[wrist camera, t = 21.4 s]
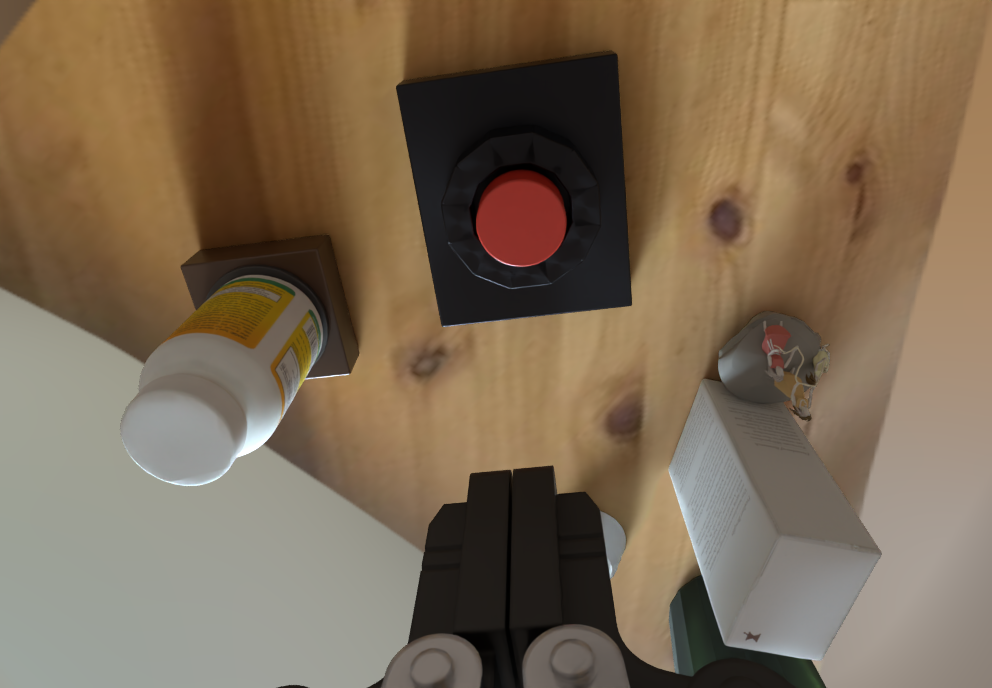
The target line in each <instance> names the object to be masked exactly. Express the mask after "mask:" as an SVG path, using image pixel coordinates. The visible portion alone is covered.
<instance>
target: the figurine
mask: <svg viewBox="0 0 992 688" xmlns="http://www.w3.org/2000/svg"><path fill="white" fill-rule="evenodd" d="M820 343H821V337H820V335H819V334H818V333H814V332H813V331H812V330H811V329H810V328H809V327H808V326H807V324H806V323H805V322H803V321H802V320H800V319H798V318H796V317H791V316H787V315H784V314H780V313H776V312H771V311H764V312H762V313H759V314H758V315H756V316H754V317H753V318H752V319H751V320H750V322H749V323H748V324H747V325H746V326H745V327H744V328H742V329H741V331H740V332H739V333H738V334H737V335H736V336H734V337H733V338H732V339H730V340H729V341H728V342H727V343H726V344H725V346H724V347H723V348H722V349H721V350H720V351H719V360H718V371H719V375H720V378H721V380H722V382H723V384H724V385H725V386H726V388H727V389H728V390H729V391H730V392H731V393H733V394H734V395H736V396H737V397H739V398H741V399H744V400H747V401H750V402H754V403H763V404H771V403H780V402H785V401H788V400H792V404H793V407H794V406H795V407H794V409H795V410H796V411H795V410H792V409H790V408H789V409H790V410H791V411H793V412H794V414H796V415H797V416H799V418H801V419H802V420H808V421H810V419H812V417H811V413H810V412H809V408H810V407H811V400H812V393H813V390H814V389H815V387H816V386H817V383H818V382H819V380H820V377H821V376H822V373H823V372H824V373H827V372H828V367H829V362H830V353H829V351H828V350H826V349H825V347H827V346H829V345H830V344H826V345H823V346H822V349H821V347H820ZM826 366H827V368H825V367H826ZM810 387H811V388H810ZM809 388H810V393H809V398H808V400H807V399H806V398H804V397H805V394H804V392H805V391H806V390H807V389H809ZM793 412H792V413H793Z"/></svg>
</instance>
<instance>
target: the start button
mask: <svg viewBox="0 0 992 688" xmlns="http://www.w3.org/2000/svg"><path fill="white" fill-rule="evenodd" d="M566 226H567V218H566V212H565V207H564V202H563V198H562V196H561V193H560V191H559V190H558V188H557V187H556V186H555V184H554V183H553V182H552V181H551V180H550V179H548V178H547V177H545V176H544V175H542V174H540V173H538V172H535V171H531V170H523V169H521V170H513V171H509V172H506V173H503V174H501V175H499V176H498V177H496V178H495V179H494V180H493V181H492V182H490V184H489V185H488V186H487V187H486V189H485V190H484V192H483V194H482V196H481V199H480V202H479V207H478V212H477V217H476V229H477V234H478V237H479V240H480V242H481V244H482V246H483V247H484V248H485V250H486V251H487V252H488V253H489V254H490V255H491V256H492V257H494V258H495V259H497V260H498V261H500V262H502V263H504V264H507V265H511V266H519V267H524V266H531V265H535V264H538V263H540V262H542V261H544V260H546V259H547V258H549V257H550V256H551V255H553V253H554V252H555V251H556V250H557V249H558V248H559V246H560V245H561V243H562V241H563V239H564V236H565V232H566Z"/></svg>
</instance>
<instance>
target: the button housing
mask: <svg viewBox="0 0 992 688" xmlns="http://www.w3.org/2000/svg"><path fill="white" fill-rule="evenodd" d="M396 90H397V95H398V100H399V106H400V111H401V116H402V121H403V126H404V132H405V137H406V142H407V147H408V153H409V158H410V163H411V168H412V174H413V179H414V184H415V189H416V194H417V200H418V205H419V210H420V215H421V221H422V226H423V231H424V236H425V242H426V247H427V252H428V257H429V262H430V268H431V273H432V278H433V283H434V289H435V294H436V299H437V304H438V310H439V315H440V320H441V325H442V327H447V326H455V325H464V324H473V323H482V322H491V321H500V320H509V319H518V318H527V317H536V316H545V315H554V314H563V313H572V312H581V311H590V310H599V309H608V308H616V307H625V306H631V305H632V294H631V277H630V260H629V243H628V226H627V209H626V192H625V175H624V159H623V142H622V125H621V108H620V91H619V74H618V57H617V54H616V53H615V52H613V51H612V50H609V51H603V52H596V53H589V54H582V55H575V56H568V57H561V58H554V59H548V60H541V61H534V62H527V63H520V64H513V65H506V66H499V67H493V68H486V69H479V70H472V71H465V72H458V73H451V74H444V75H438V76H431V77H424V78H417V79H410V80H403V81H402V82H401V83H399V84H398V85H397V86H396ZM521 169H523V170H531V171H535V172H538V173H540V174H542V175H544V176H545V177H547V178H548V179H550V180H551V181H552V182H553V183H554V184H555V186H556V187H557V188H558V190H559V191H560V193H561V196H562V198H563V202H564V207H565V212H566V218H567V226H566V232H565V236H564V239H563V241H562V243H561V245H560V246H559V248H558V249H557V250H556V251H555V252H554V253H553V255H551V256H550V257H549V258H547V259H546V260H544V261H542V262H540V263H538V264H535V265H531V266H524V267H519V266H511V265H507V264H504V263H502V262H500V261H498V260H497V259H495V258H494V257H492V256H491V255H490V254H489V253H488V252H487V251H486V250H485V248H484V247H483V246H482V244H481V242H480V240H479V237H478V234H477V229H476V217H477V212H478V207H479V202H480V199H481V196H482V194H483V192H484V190H485V189H486V187H487V186H488V185H489V184H490V182H492V181H493V180H494V179H495V178H496V177H498V176H499V175H501V174H503V173H506V172H509V171H513V170H521Z"/></svg>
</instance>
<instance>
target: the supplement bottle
mask: <svg viewBox="0 0 992 688" xmlns="http://www.w3.org/2000/svg"><path fill="white" fill-rule="evenodd" d="M322 340H323V329H322V323H321V319H320V316H319V314H318V312H317V310H316V308H315V306H314V305H313V303H312V302H311V301H310V299H309V298H308V297H307V296H306V295H305V294H304V293H303V292H302V291H300V290H299V289H298V288H296V287H295V286H293V285H292V284H290V283H288V282H285V281H283V280H281V279H277V278H274V277H270V276H264V275H247V276H242V277H238V278H236V279H233V280H231V281H229V282H227V283H226V284H224V285H223V286H222V287H221V288H220V289H218V290H217V291H216V292H215V293H214V294H213V295H212V296H211V297H210V298H209V299H208V300H207V301H206V302H204V303H203V304H202V305H201V306H200V307H199V308H198V309H197V310H196V311H195V312H194V313H193V314H192V315H191V316H190V317H189V318H188V319H187V320H186V321H185V322H184V323H183V324H182V325H181V326H180V327H179V328H178V329H177V330H176V331H175V332H174V333H172V334H171V335H170V336H169V337H168V338H167V339H166V340H165V341H164V342H163V343H162V344H161V345H160V346H159V347H158V348H157V349H156V350H155V351H154V352H153V353H152V354H151V355H150V357H149V358H148V360H147V361H146V363H145V365H144V367H143V369H142V372H141V376H140V381H139V393H138V394H137V396H136V397H135V398H134V399H133V400H132V401H131V402H130V404H129V405H128V406H127V407H126V409H125V411H124V414H123V416H122V420H121V425H120V429H121V437H122V441H123V443H124V446H125V449H126V450H127V452H128V453H129V455H130V456H131V458H132V459H133V460H134V461H135V462H136V463H137V464H138V465H139V466H140V467H141V468H142V469H144V470H145V471H146V472H147V473H149V474H151V475H153V476H154V477H156V478H158V479H160V480H163V481H165V482H169V483H172V484H176V485H184V486H196V485H202V484H206V483H209V482H212V481H214V480H216V479H218V478H219V477H221V476H222V475H223V474H224V473H225V472H226V471H227V470H228V469H229V468H230V467H231V465H232V463H233V462H234V460H235V459H236V457H239V456H242V455H245V454H248V453H250V452H252V451H253V450H255V449H257V448H258V447H260V446H261V445H262V444H263V443H264V442H266V441H267V440H268V438H269V437H270V436H271V435H272V434H273V432H274V431H275V429H276V427H277V426H278V424H279V423H280V421H281V419H282V417H283V416H284V414H285V412H286V410H287V409H288V407H289V405H290V404H291V402H292V400H293V398H294V397H295V395H296V393H297V391H298V390H299V388H300V386H301V385H302V383H303V381H304V379H305V378H306V376H307V375H308V373H309V371H310V369H311V368H312V366H313V364H314V362H315V360H316V358H317V356H318V354H319V352H320V349H321V346H322Z"/></svg>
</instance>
